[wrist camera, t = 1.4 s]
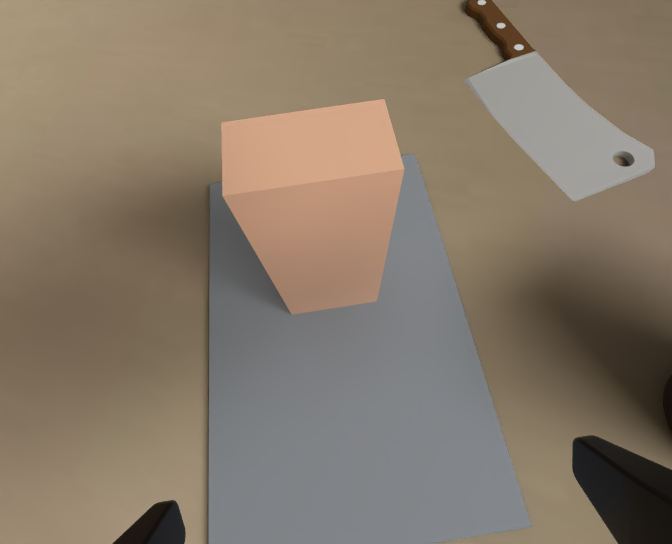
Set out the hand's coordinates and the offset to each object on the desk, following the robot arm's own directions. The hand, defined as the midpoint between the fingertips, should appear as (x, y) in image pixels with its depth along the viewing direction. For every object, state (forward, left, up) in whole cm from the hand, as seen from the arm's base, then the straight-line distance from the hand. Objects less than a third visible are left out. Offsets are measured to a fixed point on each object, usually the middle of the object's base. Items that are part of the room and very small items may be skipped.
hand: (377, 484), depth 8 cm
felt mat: (+6, +4, -12) cm, 14 cm away
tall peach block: (+8, +6, -12) cm, 15 cm away
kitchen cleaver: (+31, -1, -13) cm, 34 cm away
